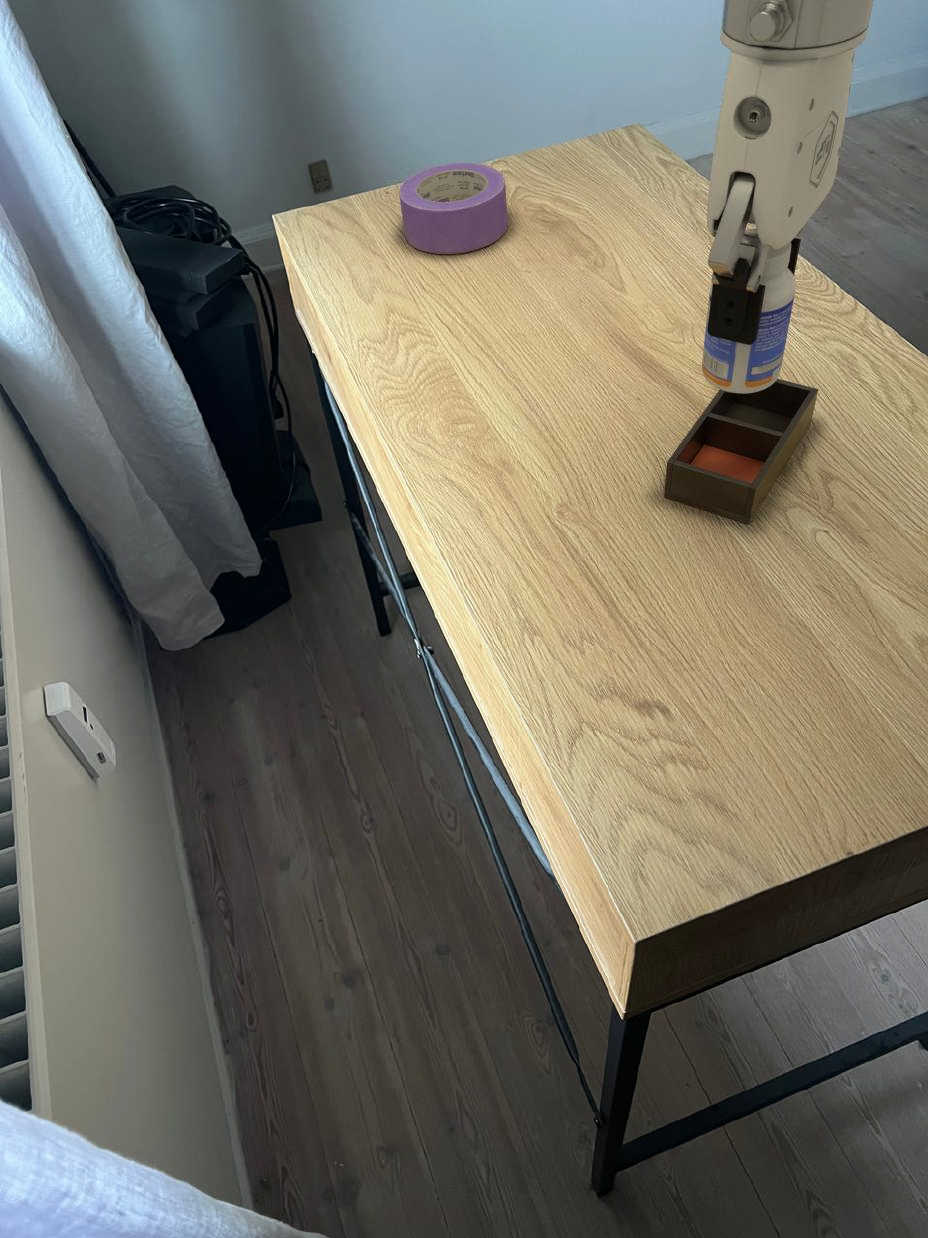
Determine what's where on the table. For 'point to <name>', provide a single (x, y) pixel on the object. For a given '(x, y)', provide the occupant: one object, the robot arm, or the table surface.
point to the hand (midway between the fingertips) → (749, 311)
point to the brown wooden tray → (739, 449)
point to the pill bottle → (763, 359)
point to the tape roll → (454, 208)
